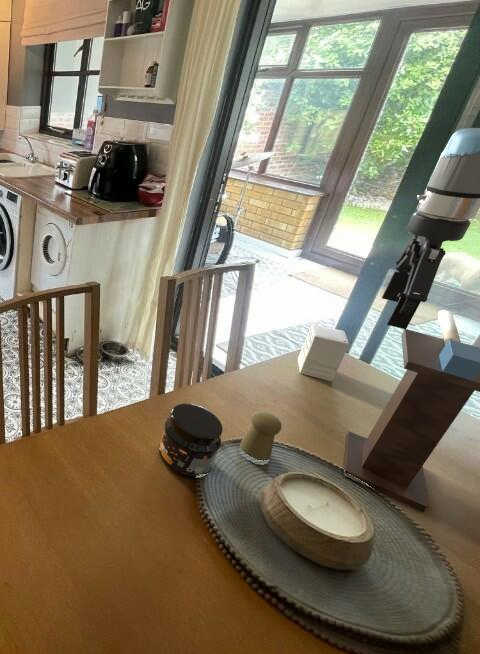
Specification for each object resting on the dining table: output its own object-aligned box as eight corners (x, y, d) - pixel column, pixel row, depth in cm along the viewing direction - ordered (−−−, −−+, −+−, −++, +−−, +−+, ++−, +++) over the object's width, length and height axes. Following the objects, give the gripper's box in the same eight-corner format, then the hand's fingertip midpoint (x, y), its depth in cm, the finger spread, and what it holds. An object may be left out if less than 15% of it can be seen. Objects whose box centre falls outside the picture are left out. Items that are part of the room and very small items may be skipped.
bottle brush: (454, 320, 84) (463, 305, 83) (473, 381, 68) (485, 363, 66) (429, 314, 87) (438, 299, 85) (442, 371, 70) (453, 354, 68)
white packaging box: (328, 367, 117) (345, 330, 111) (332, 382, 111) (350, 344, 106) (296, 359, 120) (311, 323, 115) (298, 373, 115) (314, 335, 109)
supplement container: (153, 437, 95) (163, 398, 90) (202, 444, 93) (215, 404, 88) (163, 476, 86) (175, 435, 80) (217, 485, 84) (234, 444, 78)
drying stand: (418, 465, 88) (495, 352, 75) (423, 512, 78) (512, 393, 65) (345, 435, 95) (404, 328, 82) (342, 475, 86) (408, 361, 73)
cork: (240, 460, 89) (255, 423, 84) (234, 439, 94) (248, 403, 89) (273, 468, 87) (290, 431, 82) (265, 447, 92) (281, 410, 87)
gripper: (407, 197, 87) (366, 285, 97) (424, 229, 70) (372, 332, 79) (458, 203, 83) (410, 295, 92) (489, 238, 66) (427, 346, 75)
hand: (392, 312), depth 86 cm, fingers open, 13 cm apart
